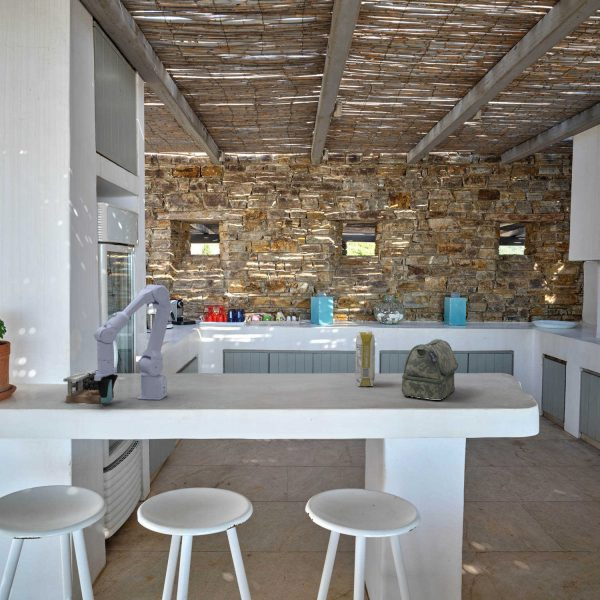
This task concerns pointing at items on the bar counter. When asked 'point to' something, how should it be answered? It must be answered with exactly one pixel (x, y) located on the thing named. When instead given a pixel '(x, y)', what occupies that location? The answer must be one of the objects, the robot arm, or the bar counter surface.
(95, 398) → the socket station
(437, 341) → the lunch bag
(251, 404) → the bar counter surface
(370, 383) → the juice carton
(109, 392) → the peg
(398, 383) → the bar counter surface
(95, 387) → the fruit
